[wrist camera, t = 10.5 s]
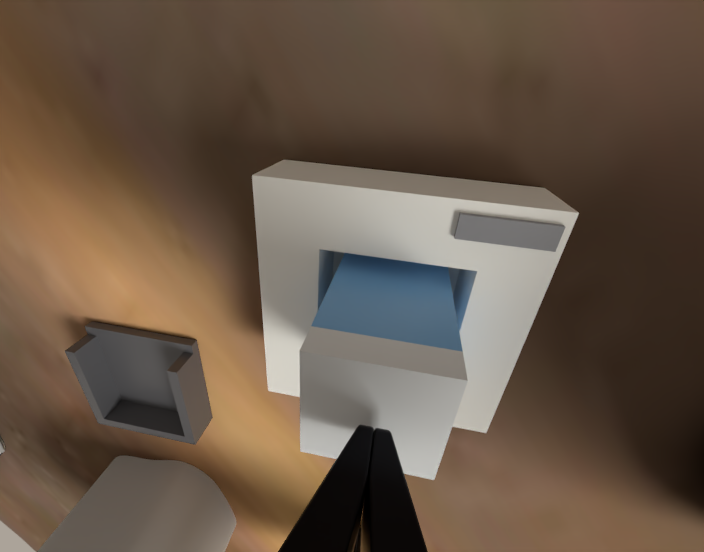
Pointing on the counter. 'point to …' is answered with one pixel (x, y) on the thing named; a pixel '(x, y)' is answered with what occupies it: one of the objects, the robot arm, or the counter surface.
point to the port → (408, 258)
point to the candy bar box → (2, 446)
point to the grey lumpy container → (147, 511)
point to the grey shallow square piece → (143, 381)
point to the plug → (383, 361)
